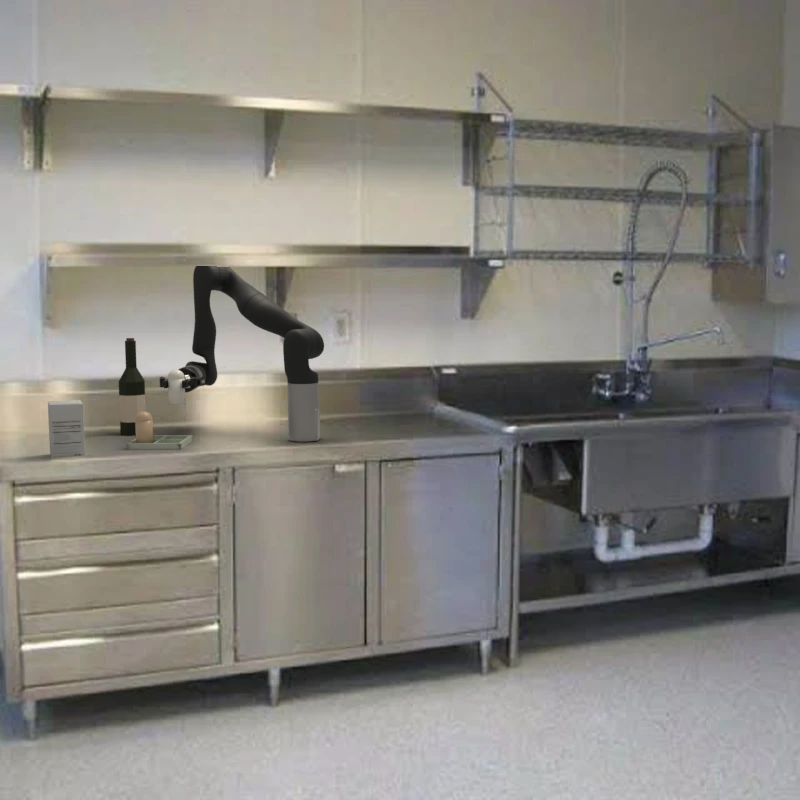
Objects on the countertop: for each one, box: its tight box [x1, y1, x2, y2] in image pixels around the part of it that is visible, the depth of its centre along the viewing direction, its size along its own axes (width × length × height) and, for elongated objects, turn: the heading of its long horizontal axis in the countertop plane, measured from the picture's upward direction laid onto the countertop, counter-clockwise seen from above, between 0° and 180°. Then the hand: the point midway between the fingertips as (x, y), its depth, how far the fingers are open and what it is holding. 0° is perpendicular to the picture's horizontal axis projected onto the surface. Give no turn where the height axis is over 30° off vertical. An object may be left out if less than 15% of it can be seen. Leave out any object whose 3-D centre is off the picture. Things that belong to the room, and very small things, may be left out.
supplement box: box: [47, 399, 86, 459], centre depth 286 cm, size 9×9×15 cm
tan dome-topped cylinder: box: [135, 411, 154, 443], centre depth 297 cm, size 5×5×10 cm
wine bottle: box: [118, 337, 147, 437], centre depth 324 cm, size 8×8×30 cm
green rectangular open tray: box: [125, 434, 194, 450], centre depth 301 cm, size 15×15×2 cm
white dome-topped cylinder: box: [167, 369, 186, 406], centre depth 302 cm, size 5×5×10 cm
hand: (174, 384), depth 300 cm, fingers closed on white dome-topped cylinder, 4 cm apart
